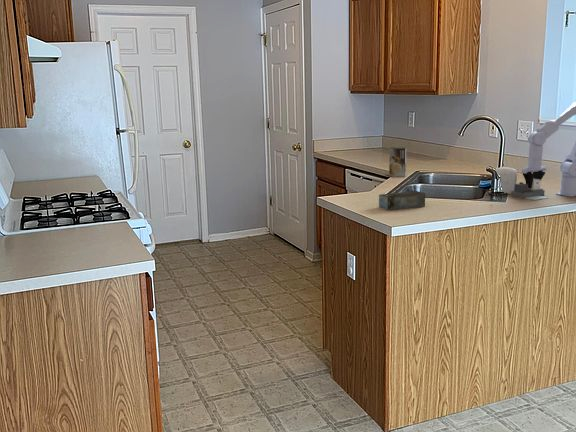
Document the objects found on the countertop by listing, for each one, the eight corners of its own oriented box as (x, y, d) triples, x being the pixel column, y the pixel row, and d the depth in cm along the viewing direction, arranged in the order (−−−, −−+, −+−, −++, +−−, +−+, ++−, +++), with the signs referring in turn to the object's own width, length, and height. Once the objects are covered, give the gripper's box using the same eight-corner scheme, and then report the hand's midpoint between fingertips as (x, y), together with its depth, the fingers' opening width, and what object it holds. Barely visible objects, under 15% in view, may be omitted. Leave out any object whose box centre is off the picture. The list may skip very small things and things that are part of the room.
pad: (538, 196, 264) (538, 195, 264) (547, 198, 260) (547, 197, 260) (525, 198, 260) (525, 197, 260) (534, 200, 256) (534, 199, 256)
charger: (531, 188, 270) (532, 178, 269) (540, 190, 266) (540, 179, 265) (525, 189, 268) (526, 179, 267) (533, 191, 264) (534, 180, 263)
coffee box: (406, 175, 328) (407, 147, 324) (405, 177, 322) (406, 148, 318) (390, 174, 330) (390, 147, 327) (388, 176, 324) (389, 148, 321)
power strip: (531, 193, 272) (532, 178, 271) (544, 195, 266) (545, 181, 265) (511, 196, 266) (512, 181, 264) (523, 198, 260) (524, 183, 258)
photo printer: (516, 193, 273) (518, 167, 270) (514, 194, 269) (516, 168, 266) (493, 191, 278) (495, 166, 275) (492, 192, 274) (493, 167, 271)
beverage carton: (377, 207, 247) (378, 192, 245) (415, 204, 253) (416, 189, 252) (387, 211, 239) (387, 195, 238) (426, 207, 246) (426, 192, 245)
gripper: (538, 156, 270) (535, 184, 273) (517, 158, 263) (514, 187, 267) (551, 157, 264) (548, 186, 267) (530, 160, 257) (527, 189, 261)
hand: (532, 187), depth 267 cm, fingers closed on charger, 4 cm apart
